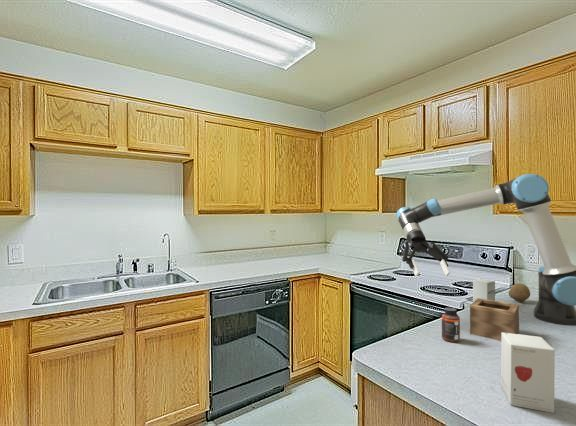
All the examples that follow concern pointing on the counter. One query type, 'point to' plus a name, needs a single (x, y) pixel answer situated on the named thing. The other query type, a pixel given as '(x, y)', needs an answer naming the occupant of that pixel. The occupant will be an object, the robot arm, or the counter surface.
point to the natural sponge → (519, 292)
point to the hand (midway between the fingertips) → (432, 274)
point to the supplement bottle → (450, 325)
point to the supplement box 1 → (483, 289)
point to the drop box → (493, 318)
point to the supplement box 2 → (527, 371)
